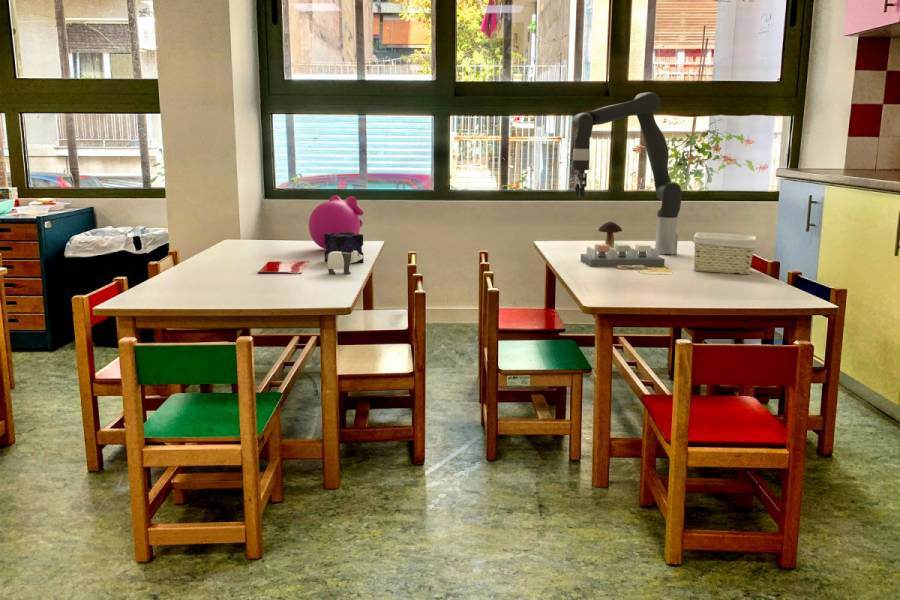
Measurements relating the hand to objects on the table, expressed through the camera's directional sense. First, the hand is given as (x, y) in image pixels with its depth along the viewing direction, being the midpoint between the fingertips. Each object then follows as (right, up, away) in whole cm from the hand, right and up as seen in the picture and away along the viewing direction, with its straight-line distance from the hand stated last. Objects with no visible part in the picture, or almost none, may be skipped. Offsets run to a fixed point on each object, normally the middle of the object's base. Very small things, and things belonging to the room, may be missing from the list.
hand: (579, 195), depth 350 cm
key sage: (+16, -28, -16) cm, 36 cm away
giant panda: (-100, -37, -47) cm, 117 cm away
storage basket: (+54, -35, -31) cm, 71 cm away
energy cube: (-103, -31, -20) cm, 110 cm away
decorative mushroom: (+16, -26, +13) cm, 33 cm away
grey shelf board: (+16, -31, -15) cm, 38 cm away
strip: (+17, -34, -28) cm, 47 cm away
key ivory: (+25, -28, -15) cm, 40 cm away
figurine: (-112, -24, +13) cm, 115 cm away
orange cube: (+7, -28, -17) cm, 33 cm away
